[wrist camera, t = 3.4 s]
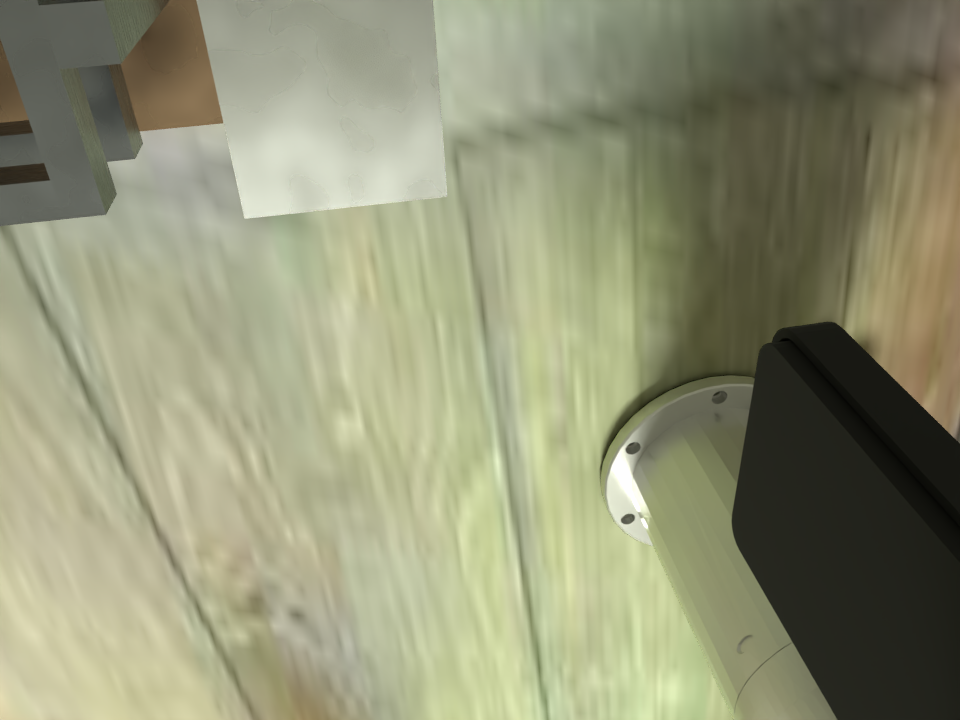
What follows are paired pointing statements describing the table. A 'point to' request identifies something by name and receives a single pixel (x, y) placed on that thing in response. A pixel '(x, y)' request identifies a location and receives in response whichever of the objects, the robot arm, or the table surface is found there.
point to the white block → (327, 101)
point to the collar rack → (91, 96)
